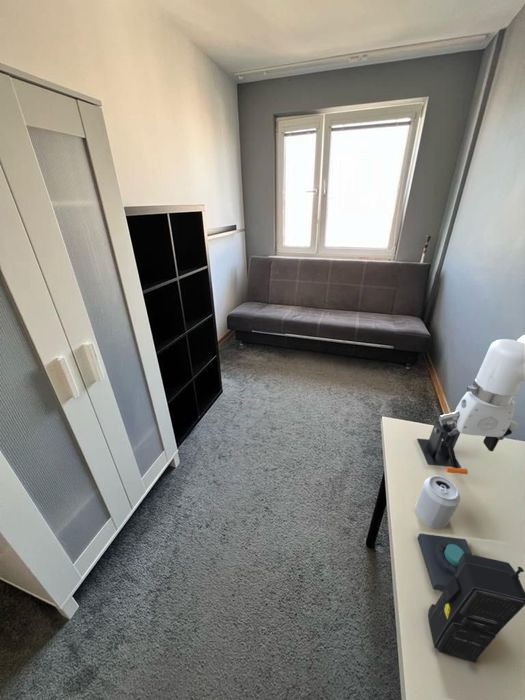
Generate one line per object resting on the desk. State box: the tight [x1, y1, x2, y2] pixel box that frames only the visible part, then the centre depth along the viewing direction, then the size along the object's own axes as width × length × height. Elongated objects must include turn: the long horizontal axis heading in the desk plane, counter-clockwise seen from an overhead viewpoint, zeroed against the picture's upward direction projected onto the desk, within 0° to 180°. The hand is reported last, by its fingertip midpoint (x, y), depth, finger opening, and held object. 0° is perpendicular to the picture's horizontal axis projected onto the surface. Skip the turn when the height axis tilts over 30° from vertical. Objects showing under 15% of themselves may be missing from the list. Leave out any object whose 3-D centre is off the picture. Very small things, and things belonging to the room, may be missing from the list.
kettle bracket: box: [416, 420, 462, 468], centre depth 85 cm, size 10×9×12 cm
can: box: [414, 475, 461, 530], centre depth 68 cm, size 8×8×12 cm
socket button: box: [444, 544, 464, 567], centre depth 60 cm, size 4×4×2 cm
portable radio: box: [427, 553, 525, 663], centre depth 46 cm, size 8×6×25 cm
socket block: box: [417, 533, 473, 591], centre depth 61 cm, size 10×10×4 cm
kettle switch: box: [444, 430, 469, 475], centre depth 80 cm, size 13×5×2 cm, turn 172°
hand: (466, 444), depth 72 cm, fingers open, 9 cm apart
